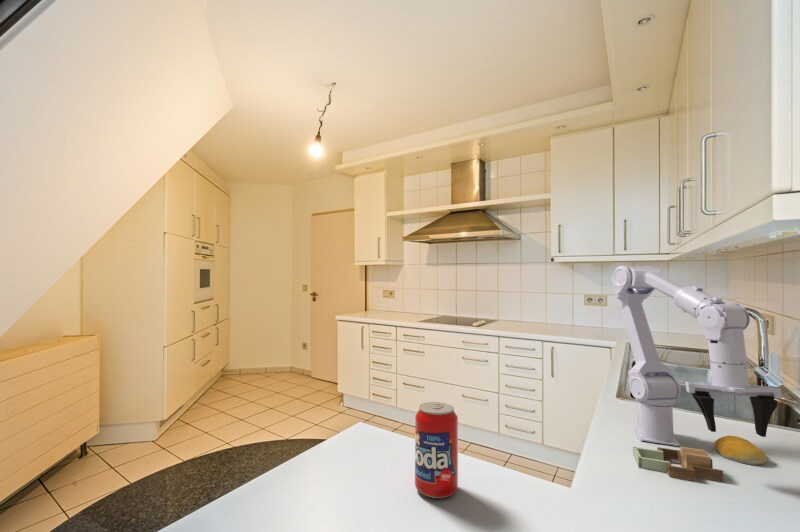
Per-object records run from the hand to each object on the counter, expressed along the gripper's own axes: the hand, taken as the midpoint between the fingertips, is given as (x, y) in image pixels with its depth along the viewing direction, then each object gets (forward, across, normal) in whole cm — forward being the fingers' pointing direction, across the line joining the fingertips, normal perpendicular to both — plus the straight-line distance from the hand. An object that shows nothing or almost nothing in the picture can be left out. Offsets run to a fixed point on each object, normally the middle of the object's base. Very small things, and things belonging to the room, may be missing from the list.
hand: (736, 432), depth 74 cm
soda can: (+9, -53, -28) cm, 61 cm away
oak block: (+9, -7, +1) cm, 11 cm away
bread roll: (+9, +4, +14) cm, 17 cm away
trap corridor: (+8, -10, +1) cm, 14 cm away
